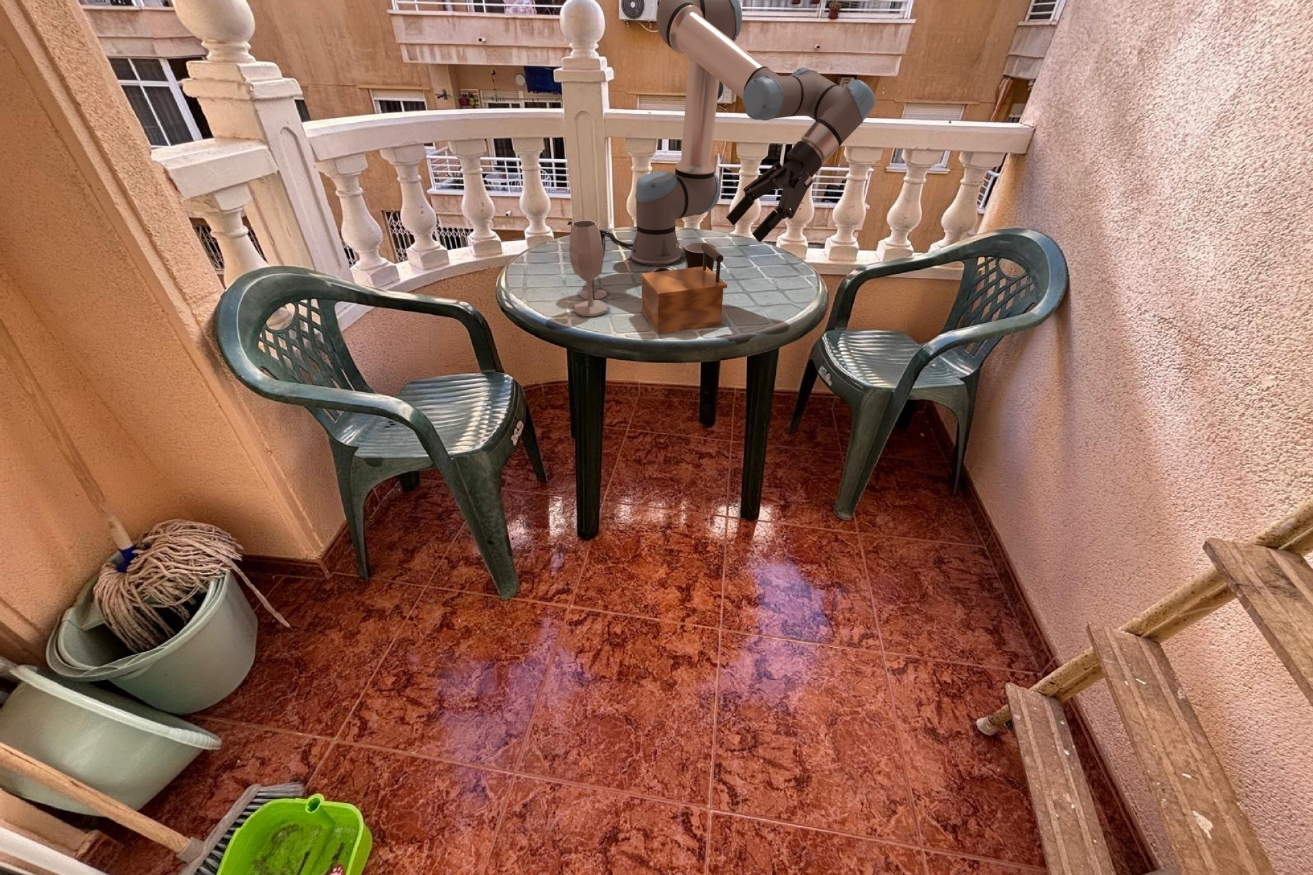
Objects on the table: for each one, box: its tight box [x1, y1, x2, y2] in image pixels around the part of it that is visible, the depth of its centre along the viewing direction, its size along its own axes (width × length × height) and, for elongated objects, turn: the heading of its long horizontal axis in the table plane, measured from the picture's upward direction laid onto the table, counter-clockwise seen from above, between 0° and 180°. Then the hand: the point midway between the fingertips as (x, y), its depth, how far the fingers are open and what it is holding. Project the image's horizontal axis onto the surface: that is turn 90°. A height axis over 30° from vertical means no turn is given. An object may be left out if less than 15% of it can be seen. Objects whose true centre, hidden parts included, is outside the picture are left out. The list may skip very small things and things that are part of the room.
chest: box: [641, 277, 724, 335], centre depth 127 cm, size 16×13×9 cm
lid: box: [641, 242, 728, 297], centre depth 122 cm, size 17×13×7 cm
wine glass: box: [579, 233, 608, 300], centre depth 137 cm, size 8×8×15 cm
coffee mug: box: [684, 241, 718, 273], centre depth 146 cm, size 12×9×10 cm
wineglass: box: [568, 219, 609, 317], centre depth 127 cm, size 9×9×21 cm
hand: (742, 229), depth 121 cm, fingers open, 13 cm apart
